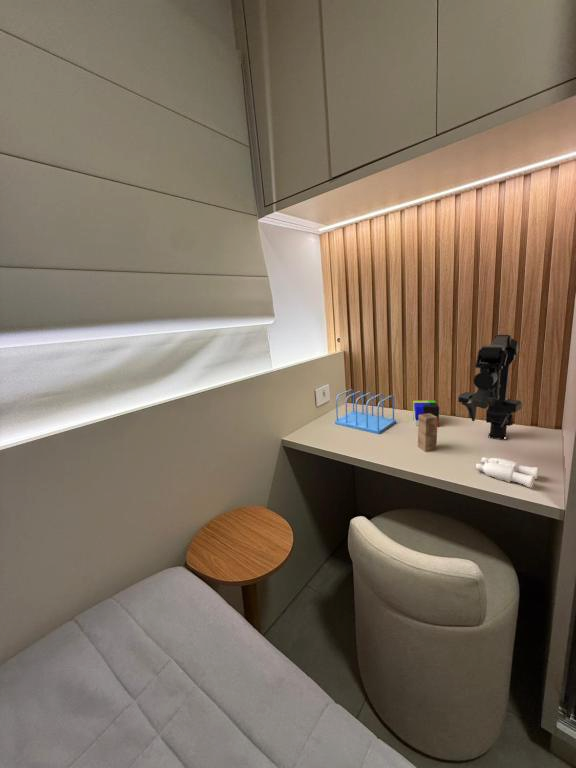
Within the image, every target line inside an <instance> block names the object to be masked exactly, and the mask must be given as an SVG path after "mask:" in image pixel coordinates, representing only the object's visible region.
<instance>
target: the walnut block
mask: <svg viewBox="0 0 576 768" xmlns="http://www.w3.org/2000/svg"><path fill="white" fill-rule="evenodd" d="M437 419H438V417H436V416H434V415H432V414H430V413H428V414H421V415H419V418H418V427H417V428H418V429H417V447H418V449H421V450H422V451H423V452H425V453H427V452H432V451H437V447H438V446H437V442H438V439H437V438H438V427H437Z"/></svg>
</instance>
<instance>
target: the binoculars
mask: <svg viewBox="0 0 576 768" xmlns="http://www.w3.org/2000/svg"><path fill="white" fill-rule="evenodd" d="M480 461H481V463H476V464H475V465H476V466H475V470H476V471H480V472H483V473H484V474H485V475H486V474H487V475H486V476H488V475H489V476H488V477H490V476H492V477H491V478H493V477H495V478H494V479H496V478H499V479H498V480H500V479H502V480H501V481H503V480H506V481H505V482H507V481H509V482H508V483H511V482H510V481H512V482H514V483H518V484H520V485H522V484H523V486H525V487H527V488H529V487H530V488H529V489H532V488H531V485H532V483H533V484H534V485H535V482H536V481H535V479H537V480H538V476H537V475H539V467H533V466H525V465H521V464H519V463H518V462H516V461H512V460H509V459H504V458H499V457H492V458H488V457H484V456H483V457H482V458H481V460H480Z"/></svg>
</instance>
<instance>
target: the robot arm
mask: <svg viewBox="0 0 576 768" xmlns="http://www.w3.org/2000/svg"><path fill="white" fill-rule="evenodd" d="M518 354H519V342H518V341H517V340H515V339H514V338H513V337H512V335H510V334H496V335H495V336H494V339H493V341H492V342H491V343H490V344H487V345H486V344H485V345H483V346H481V348H480V349H479V350H478V352H477V357H476V362H475V369H477V368H478V369H479V372H478V373H477V374H476V375H474V378H473V384H474V386H475V387H476V388H477V391H476V392H471V391H465V392H463V393H462V392H461V394H459V395H458V397H457V402H458V403H461V405H462V406H465V408H466V409H467V411H468V412H469V416H470V419H471V421H472V422H474V421H475V420H476V417H477V416H476V415H477V408H480V409H486V412H485V413H486V416H485V419H486V420H485V421H486V422H485V423H486V424H487V423H489V424H490V428H489V431H490V433H488V436H487V437H488V438H489V436H490V437H493V438H492V439H495V438H500V439H499V440H502V439H504V437H506V434H507V427H511V426H513V425H514V415H513V413H517V412H518V411H521V410H522V408H523V403H522V402H521V401H522V400H518V399H512V398H507V397H508V388H509V377H510V369H511V364H512V363H513V362H514V361H515V360H516V359H517V358H516V357H517V356H518Z"/></svg>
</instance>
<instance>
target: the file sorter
mask: <svg viewBox="0 0 576 768" xmlns="http://www.w3.org/2000/svg"><path fill="white" fill-rule="evenodd" d="M349 392H352V393H351V394H349V395H348V396H347V397H346V398H345V401H344V402H345V403H344V404H345V415H342V416H341V417H339V413H338V411H339V409H338V399H339V397H340V396H342V395H344V394H346V393H349ZM358 393H361V396H359V397H357V398H356V400H355V395H356V394H358ZM368 395H371V398H369V399H368V400H367V401H366V403H365V412H364V397H365V396H368ZM380 396H381V401H379V402H378V404H377V407H376V408H377V409H376V411H377V412H376V414H377V415H376V414H374V399H375V398H377V397H380ZM350 397H352V411H350V412H348V402H347V401H348V399H349V398H350ZM390 398H392V418H388V417H384V402H385V401H386V400H388V399H390ZM359 399H361V405H362V406H361V407H362V408H361V411H362V412H359V411H358V401H359ZM370 401H371V414H370V413H369V412H368V406H369V405H368V404H369V402H370ZM380 404H381V405H380ZM380 406H381V416H380V414H379V413H380V411H379V410H380ZM335 411H336V419H335V420H334V424H335V425H339V426H343V427H347V428H352V429H356V430H360V431H363V432H368V433H372V434H376V435H381V434H382V433H383V432H386V430H387V429H390V427H392V426H393V425H395V424H397V420H396V419H395V397H394V395H392V394H391V395H389V396H387V397H386V398H384V395H383V394H382V393H378V394H377V395H375V396H374V395H373V392H371V391H369V392H368V393H365V394H364V392H363V391H362V390H358V391H356V392H354V390H353V389H352V388H351V389H350V388H349V389H348V390H346V391H343V392H341V393H339V394H337V396H336V398H335Z"/></svg>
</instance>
